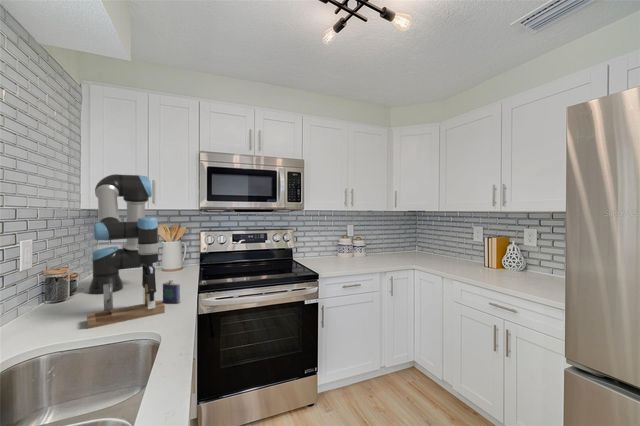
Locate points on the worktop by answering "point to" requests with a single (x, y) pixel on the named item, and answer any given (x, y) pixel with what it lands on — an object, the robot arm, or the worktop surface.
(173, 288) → the flask
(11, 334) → the worktop surface
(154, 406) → the worktop surface
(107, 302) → the peg
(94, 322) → the board
